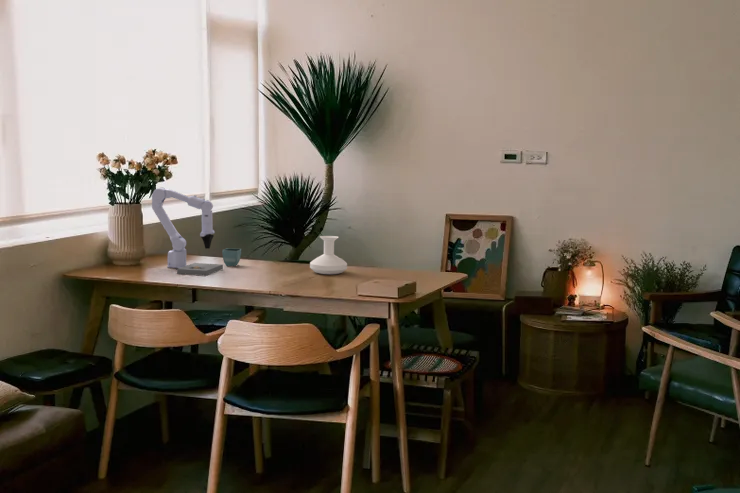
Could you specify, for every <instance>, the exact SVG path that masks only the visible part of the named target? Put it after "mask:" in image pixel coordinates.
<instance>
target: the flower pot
mask: <svg viewBox="0 0 740 493" xmlns="http://www.w3.org/2000/svg"><path fill="white" fill-rule="evenodd" d="M221 253H222V259H223V260H222V261H223V263H224V265H225V266H227V267H236V266H237V265H239V263H240V260H241V255H242V248H227V247H226V248H225V249H222V252H221Z"/></svg>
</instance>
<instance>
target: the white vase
mask: <svg viewBox="0 0 740 493" xmlns="http://www.w3.org/2000/svg"><path fill="white" fill-rule="evenodd" d="M319 238H320V239H321V240H322V241H323V254H321V255H319V256H316V258H314V259H313V260H311V261H310V262H309V269H311V270H312V271H313V272H314V273H316V274H320V275H339V274H341V273H344V272H345V271H346V270H347V269H348V263H347V261H345V260H344V259H343V258H341V257H339V256H338V255H336V254H335V241H336V240H337V239H339V236H337V235H336V236H335V235H320V236H319Z"/></svg>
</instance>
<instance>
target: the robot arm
mask: <svg viewBox="0 0 740 493" xmlns="http://www.w3.org/2000/svg"><path fill="white" fill-rule="evenodd" d="M171 198H172V199H177V200H179V201H181V202H184V203H187V205H188V207H189V206H190V207H192V208H194V209H196V210H197V209H198V210H201V232H199V237H201V239H202V242H203V245H204V248H205V250H207V249H208V250H209V249H210V248H211V245H212V241H213V238H214V234H215V233H216V231H215V229H213V227H214V226H213V224H214V223H213V221H214V220H213V219H214V218H213V207H214V205H213V202H212V201H211V200H209V199H207V200H206V199H205V198H201V197H198V196H197V195H196V194H192V195H190V196H188V195H185V194H183V193H180V192H178V191H176V190H173V189H170V188H165V187H162V186H161V187H158V188H155V189H154V190H153V192H152V194H151V208H152V210H153V212H154V214H155V216H156V217H157V218H158V221H159V222H160V223H161V225H162V226H163V229H164V230H165V231H166V233H167V235H168V237H169V239H170V242H171V246H172V247H171V248H172V250H169V251H168V252H167V266H166V267H167V268H174V269H178V268H181V267H184V266H187V265H188V264H187V249H186V247H187V240H186V239H185V238H184V237H183V236H182V235H181V234H180V233H179V232H178V230H177V229H176V226H174V224H173V222H172V220H171V219H170V217H169V216H168V214H167V213H166V211H165V208H164V207H163V205H164V202H165V200H166V199H171Z"/></svg>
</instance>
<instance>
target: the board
mask: <svg viewBox="0 0 740 493" xmlns="http://www.w3.org/2000/svg"><path fill="white" fill-rule="evenodd" d="M186 265H187V266H184V267H181V268H176V273H177V274H179V275H189V276H190V275H192V276H193V275H194V276H208V275H211V274H214V273H217V272H219V271H222V270H223V269H224V264H218V263H204V262H203V263H202V262H194V263H191V264H186ZM195 266H198V267H200V269H193V268H194V267H195Z"/></svg>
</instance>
